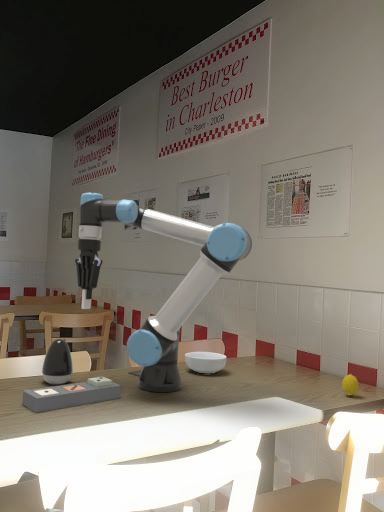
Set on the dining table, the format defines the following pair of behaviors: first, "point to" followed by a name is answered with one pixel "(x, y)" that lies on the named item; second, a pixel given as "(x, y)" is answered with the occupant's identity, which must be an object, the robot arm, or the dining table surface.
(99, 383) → the button two sage
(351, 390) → the lemon
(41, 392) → the button one cream
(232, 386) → the dining table surface
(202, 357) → the cereal bowl
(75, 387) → the button three terracotta
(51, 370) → the black egg-shaped speaker
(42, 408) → the button panel
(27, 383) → the dining table surface
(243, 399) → the dining table surface
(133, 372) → the smartphone
